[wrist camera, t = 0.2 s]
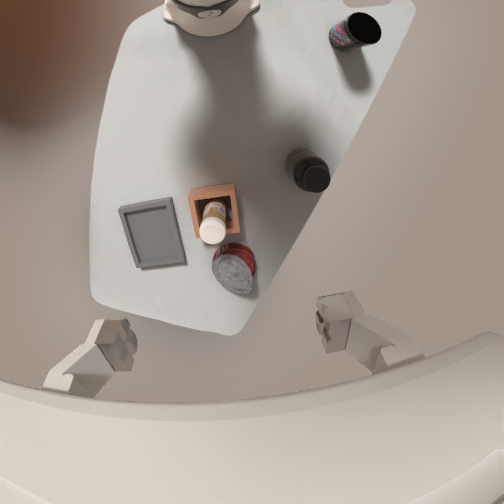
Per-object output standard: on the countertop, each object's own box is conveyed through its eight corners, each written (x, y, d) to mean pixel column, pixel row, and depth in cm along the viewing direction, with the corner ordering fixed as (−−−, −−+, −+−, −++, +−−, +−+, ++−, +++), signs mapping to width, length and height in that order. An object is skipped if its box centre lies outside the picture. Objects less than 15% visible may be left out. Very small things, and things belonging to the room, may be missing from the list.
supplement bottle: (293, 143, 52) (309, 152, 42) (322, 157, 54) (343, 170, 44) (279, 172, 55) (291, 189, 45) (307, 185, 57) (325, 204, 47)
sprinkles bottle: (230, 202, 58) (231, 229, 46) (218, 219, 60) (216, 249, 48) (212, 191, 56) (207, 216, 45) (200, 209, 58) (193, 237, 46)
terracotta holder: (191, 188, 56) (187, 196, 51) (234, 182, 56) (234, 189, 51) (198, 227, 60) (196, 238, 56) (239, 222, 60) (240, 232, 56)
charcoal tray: (121, 206, 56) (118, 209, 54) (171, 196, 56) (169, 199, 54) (138, 263, 63) (136, 268, 62) (185, 257, 64) (184, 262, 62)
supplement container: (337, 19, 39) (358, 5, 30) (362, 38, 41) (387, 29, 32) (321, 38, 41) (340, 27, 32) (347, 58, 43) (371, 51, 34)
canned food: (238, 268, 72) (229, 302, 66) (208, 247, 67) (196, 282, 61) (271, 255, 64) (263, 292, 59) (239, 230, 60) (228, 269, 54)
